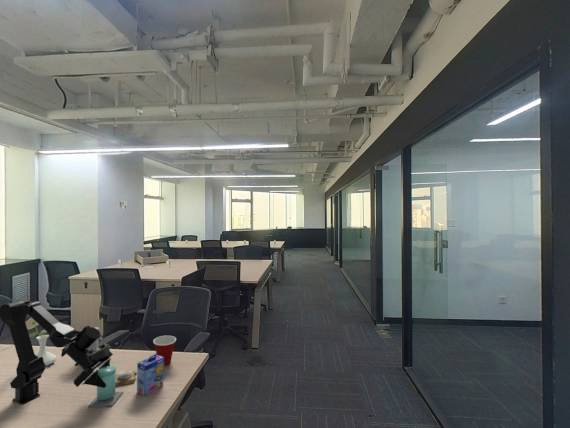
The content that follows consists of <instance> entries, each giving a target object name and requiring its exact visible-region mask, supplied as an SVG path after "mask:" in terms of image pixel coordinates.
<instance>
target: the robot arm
mask: <svg viewBox="0 0 570 428" xmlns="http://www.w3.org/2000/svg"><path fill="white" fill-rule="evenodd" d="M27 315H28V316H29V317H30V318H33V319H34V320H35V321H36V322H37V323H38V324H39V325H38V326H40V327H41V328H42V329H43V330H44V329H45V330H46V331H47V332H46V333H47V335H49V337H48V338H49V340H50V342H51V343H52V344H53V345H54V346H55V347H56V348H62V349H61V358H63V357H64V356H65V355H67V356H68V357H69V358H70V359H71V360H73V361H74V366H75V367H78V366H79V367H80V368H81V369H82V371H81V372H80V374H78V376H76V378H74V380H73V385H74V386H75V387H76V388H78V387H79V386H81V385H82V386H84V385H88V386H93V387H97V386H98V387H102V388H105V387H106V384H105V383H104V381H103V380H102V379H101V378H100V377H99V376H98V370H99V369H100V368H103V367H107V366H111V364H110V363H111V360H112V358H111V357H112V356H113V354H114V353H112V352H111V348H112V346H110V345H109V344H108V343H107V342H105V343H103V344H101V345H100V348H98V350H97V351H94V350H88V349H87V348H89V347H90V346H91V345H92V344H93V343H94V342H95V341H96V340H97V339H98V338H100V337H101V332H100V329H99V330H98V329H96V328H95V327H93V326H91V327H90V325H86V326H84V327H83V328H82V329H81V330H76V329H75V328H73V327H72V326H71V325H69V324H65V323H62V322H60V321H59V320H58V319H57V318H55V317H54V316H53V315H52V314H51V313H50V312H49V311H48V310H47V309H46V308H44V307H43V306H42V303H41V302H40V301H37V300H36V301H31V300H30V301H23V300H21V299H20V300H19V299H18V300H15V301H11V302H8V303H4V304H2V305H0V319H1V322H2V323H4V324H5V325H6V326H7V327H8V328H9V331H10V334H11V337H12V342H13V345H14V347H15V349H14V350H15V351H16V355H17V358H18V364H17V366H16V376H15V378H13V380H12V381H10V383H9V385H10V389H14V395H15V396H14V398H13V399H12V401H13V402H15V403H17V404H21V405H24V404H26V403H27V402H29V401H32V400H34V399H36V398H38V397H40V396H41V393H39V389H40V387H39V386H40V384H39V382H38V380H39V379H41V378H42V375H43V374H44V372H45V370H46V369H45V368H46V366H45V364H44V361H43V357H38V356H36V355H37V354H35V351H34V348H33V345H32V340H31V337H29V334H30V333H29V329H27V327H26V323H25V322H26V318H27ZM98 340H99V339H98ZM97 368H98V369H97ZM96 369H97V370H96Z"/></svg>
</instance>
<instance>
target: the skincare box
mask: <svg viewBox="0 0 570 428" xmlns="http://www.w3.org/2000/svg"><path fill="white" fill-rule="evenodd" d="M94 328H96V329H98V330H99V331H100V327H99V326H97V327H94ZM99 338H100V337H99ZM99 338H98V339H97V340H96V341H95V342H94V343H93V344H92V345H91V346H90V347H89V348H87V349H88V350H94V351H97V350H98V349H99Z"/></svg>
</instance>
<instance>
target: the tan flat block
mask: <svg viewBox="0 0 570 428" xmlns="http://www.w3.org/2000/svg"><path fill="white" fill-rule="evenodd" d="M136 376H137V371H136V370H130V369H129V370H128V369H125V370H122V371H120V372H118V373H116V380H115V387H118V386H123V385H128V384H134V383H135V382H136V381H135V380H136Z"/></svg>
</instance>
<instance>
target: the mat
mask: <svg viewBox="0 0 570 428" xmlns="http://www.w3.org/2000/svg"><path fill="white" fill-rule="evenodd" d="M123 394H124V392H123V391H115V395H114V396H113V397H111V398H109V399H106V400H98V399H97V396H96V397H95V398H94V399H93V400H92V401H91V402H90V403H89V404H88V405H87V407H88V408H107V407H108V408H109V407H113V406H114V405H115V404H116V403H117V402H118V400H119V399H120V398H121V396H122V395H123Z"/></svg>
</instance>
